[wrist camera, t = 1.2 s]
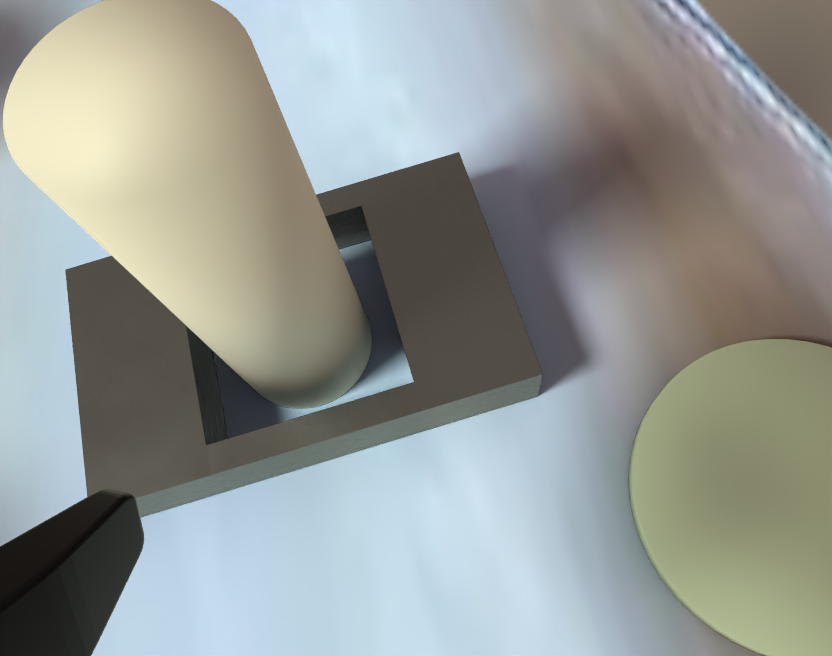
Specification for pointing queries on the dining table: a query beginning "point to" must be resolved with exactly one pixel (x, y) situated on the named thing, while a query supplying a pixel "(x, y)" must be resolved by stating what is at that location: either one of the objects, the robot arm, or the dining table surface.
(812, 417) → the sage mat
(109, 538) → the robot arm
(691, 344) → the dining table surface
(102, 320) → the dark grey peg holder
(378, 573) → the dining table surface
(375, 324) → the dining table surface
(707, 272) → the dining table surface
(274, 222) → the cream round peg
